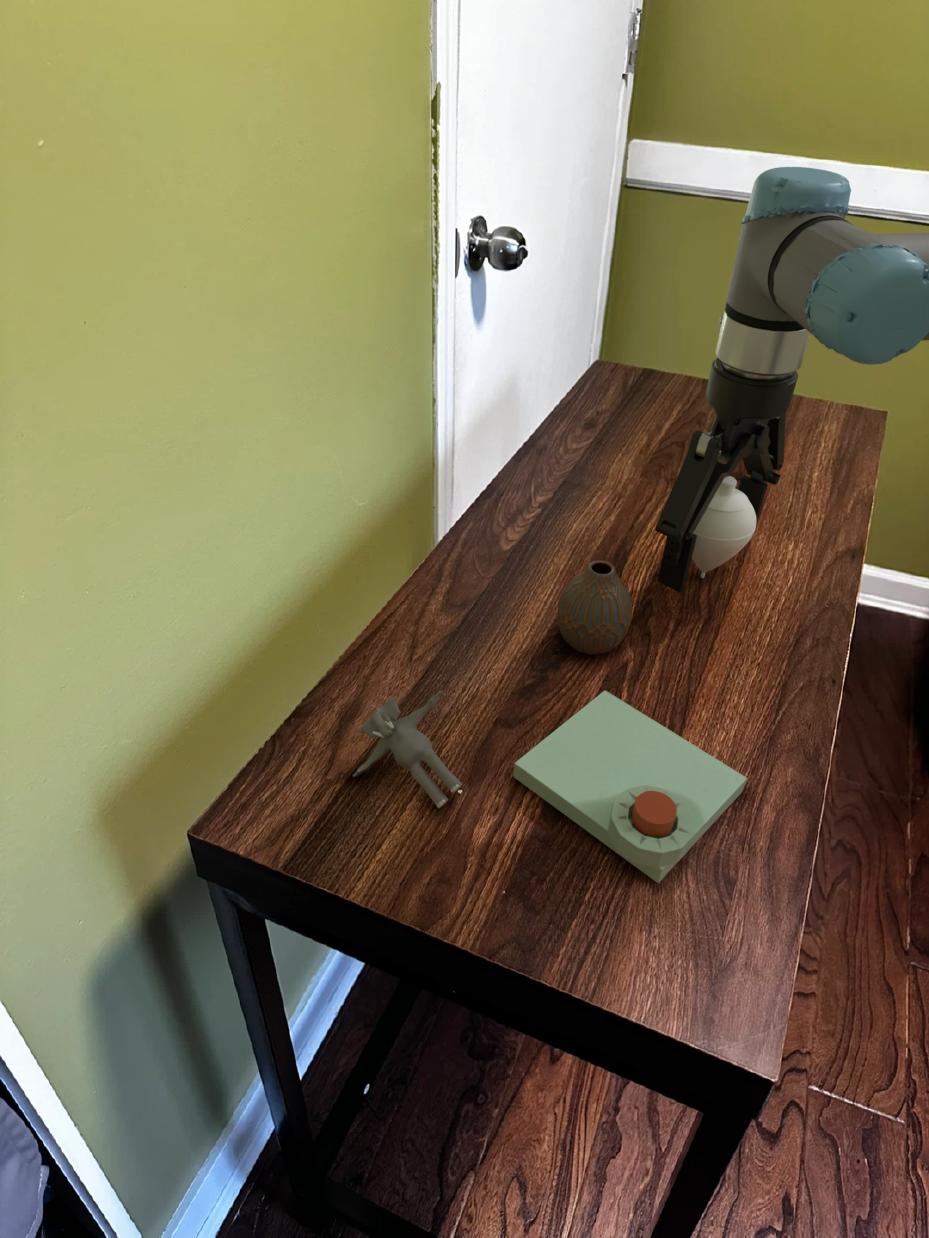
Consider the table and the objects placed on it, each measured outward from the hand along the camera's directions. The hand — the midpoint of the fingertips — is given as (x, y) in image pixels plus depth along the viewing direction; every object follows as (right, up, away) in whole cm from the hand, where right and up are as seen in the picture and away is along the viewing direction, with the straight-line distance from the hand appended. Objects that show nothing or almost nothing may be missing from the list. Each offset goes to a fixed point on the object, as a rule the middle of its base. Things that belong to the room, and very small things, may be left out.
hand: (706, 558), depth 90 cm
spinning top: (0, -2, +2) cm, 3 cm away
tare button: (-12, -21, -28) cm, 37 cm away
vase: (-13, -9, -7) cm, 17 cm away
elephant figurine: (-29, -19, -20) cm, 40 cm away
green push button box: (-12, -20, -21) cm, 31 cm away
